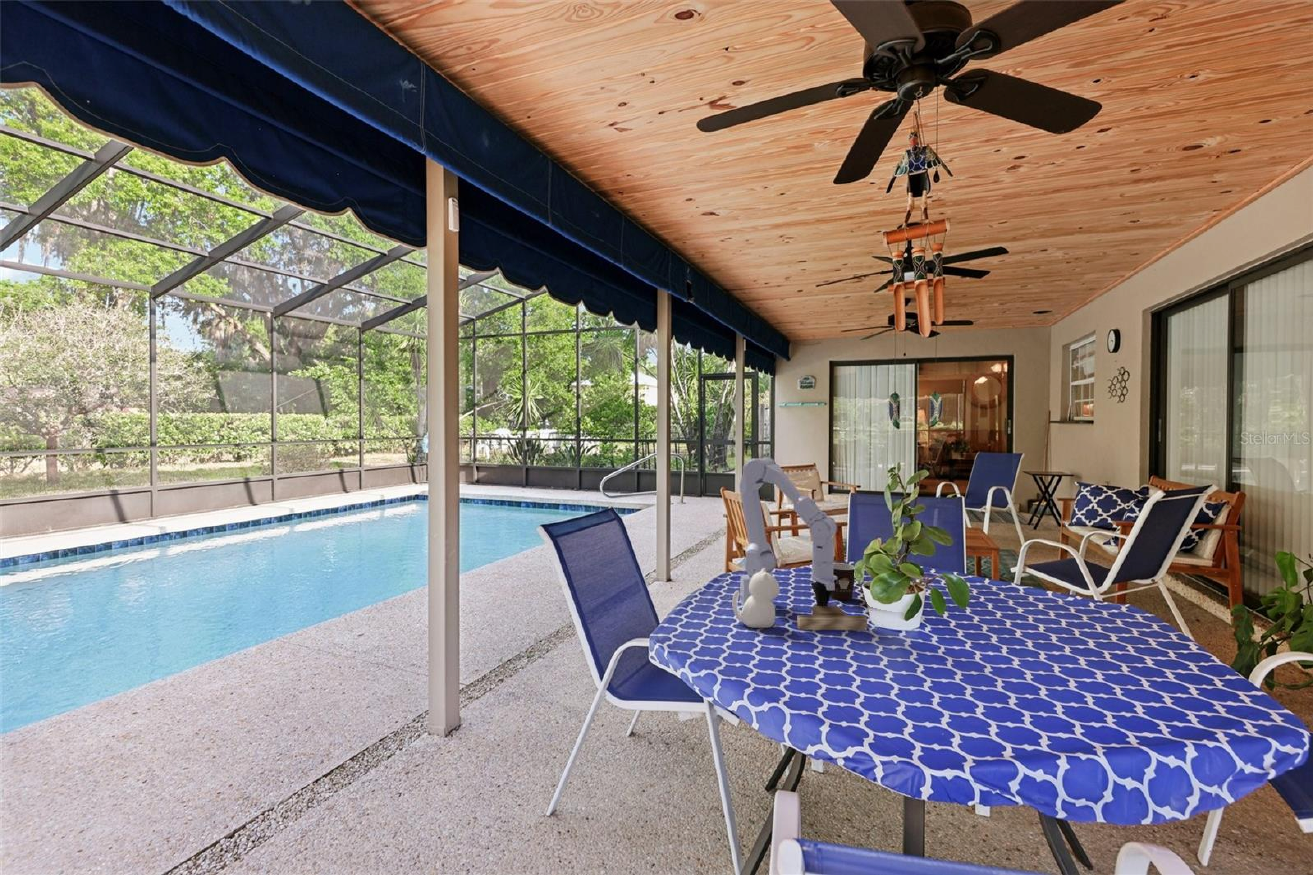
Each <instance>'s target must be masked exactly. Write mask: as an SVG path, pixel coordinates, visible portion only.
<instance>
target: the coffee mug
mask: <svg viewBox="0 0 1313 875" xmlns="http://www.w3.org/2000/svg"><path fill="white" fill-rule="evenodd" d="M854 566H855V565H854V564H849V563H842V562H834V563H833V576H837V580H834V583H835V590H833V592H832V593H831V595H830V599H832V600H835V601H839V600H840V602H841V601H842V602H849V601H852V598H853V592H854V585H855V578H856V576H855V577H854Z"/></svg>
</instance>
